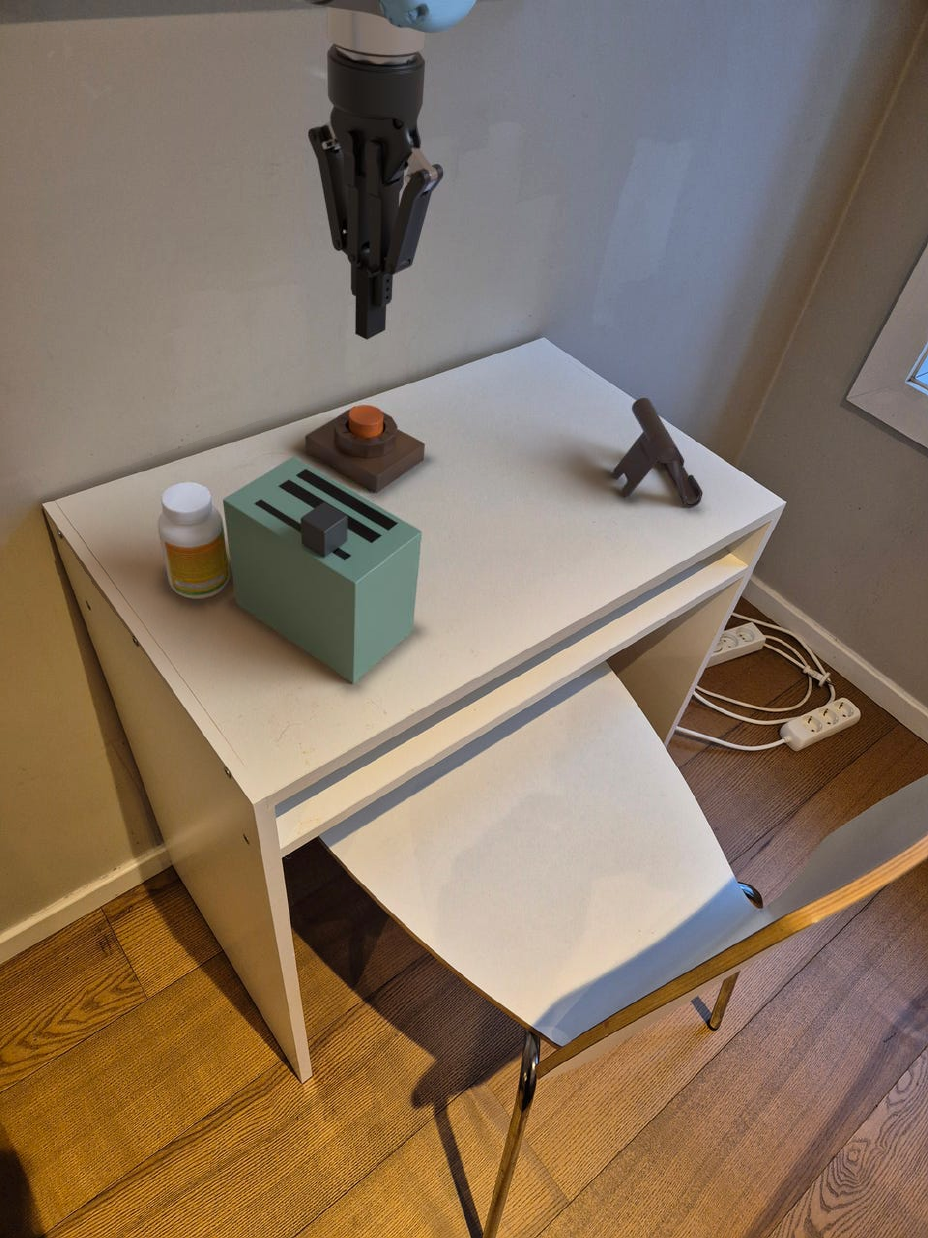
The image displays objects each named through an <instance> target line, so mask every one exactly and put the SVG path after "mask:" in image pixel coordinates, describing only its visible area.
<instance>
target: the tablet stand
mask: <svg viewBox="0 0 928 1238" xmlns="http://www.w3.org/2000/svg"><path fill="white" fill-rule="evenodd" d="M631 411H632V414H633V415H634V417H635V419H636V421H637V423H638V424H639V426H640V428H641V430H642V433H641V434H640V435H639V436H638V438H637V439H636V440H635V442H634V443H633V444H632V446H630V448H629V449H628V450H627V452H626V453H625V455H623V457H622V458H621V459H620V461H619V462H618V463H617V465H616V466H615V467H614V468H613V471H612V472H613V473H612V474H613V476H614V478H615V480H619V479H620V478H621V476H622V475H624V476H625V478H626V483H625V484H624V486H623V487H622V489H621V490H620V491H621V493H622V495H623V497H624V498H629V497H630V495H631V494H633V492H634V491H635V490H636V488H637V487H638V486H639V485H640V484H641V483H642V481H643V480H644V478H645V477H646V476H647V475H648V474H649V472H650V471H651V470H652V468H654V466H655V465H656V464H657V463H658V461H659V462H660V464H661V466H662V467H663V468H664V470H665V472H666V474H667V476H668V477H669V479H670V481H671V483H672V485H673V487H674V489H675V491H676V492H677V494H678V498H679V500H680V501H681V503H682V504H683V505H684V506H685V508H688V509H689V508H690V509H691V508H695V507H696V506H698V505H699V504H700V503H701V502H702V498H703V493H704V491H703V490H702V488H701V486H700V484H699V483H698V481H697V480H696V478H695V476H694V475H693V474H689V473H688V471H687V470H686V468H685V467H684V466H685V459H684V457H683V455H682V454H681V452H680V450H679V447H677V444H675V442H674V440H673V438H672V436H671V434H670V433H669V431H668V429H667V427H666V426H665V424H664V422H663V420H662V419H661V417H660V415H659V413H658V412H657V410H656V408H655V407H654V405H653V403H652V401H651V400H650V399H649V398H647V397H641V398H638V399H637V400H635V401H634V402H633V404H632V405H631Z"/></svg>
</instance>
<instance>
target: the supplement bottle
mask: <svg viewBox="0 0 928 1238" xmlns="http://www.w3.org/2000/svg"><path fill="white" fill-rule="evenodd" d="M160 503H161V508H162V512H161V514H160V515H159V518H158V520H157V532H158V536H159V541H160V545H161V551H162V555H163V561H164V566H165V572H166V575H167V580H168V583H169V586H170V587H171V589H172V590H173V591H174V593H176V594H178V595H180V596H182V597H185V598H189V599H194V600H195V599H205V598H206V599H207V598H210V597H212V596H215V595H217V594H219V593H220V592H222V591H223V590H224V588H226V586H227V585H228V584H229V581H230V576H231V575H230V566H229V565H230V564H229V559H228V551H227V544H226V536H225V527H224V522H223V521H224V520H223V517H222V514H221V512H220V511H219V510H218V509H217V507H215V506H214V505H213V502H212V495H211V492H210V490H209V489H208V488H207V487H206V486H204V485H203V484H200V483H196V482H192V481H191V482H190V481H186V482H178V483H174V484H172V485H170V486H169V487H167V488H165V490H164V491H163V492H162V494H161V497H160Z"/></svg>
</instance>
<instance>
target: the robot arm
mask: <svg viewBox="0 0 928 1238" xmlns="http://www.w3.org/2000/svg"><path fill="white" fill-rule="evenodd" d="M293 1H295V2H301V3H306V4H311V5H315V6H320V7H324V8H326V39H328V41H329V42H330V43H331V44H332V45H331V46H330V48H329V49H328V50H327V53H326V61H327V62H326V66H327V67H326V68H327V69H326V70H327V71H326V73H327V97H328V100H329V102H330V103H331V104H332V105H333V107H332V110H331V111H330V115H329V121H328V122H326V123H324V124H321V125H318V126H315V127H311V128H309V129H308V133H307V136H308V140H309V142H310V145H311V147H312V150H313V152H314V155H315V157H316V159H317V164H318V165H317V166H318V171H319V176H320V182H321V187H322V192H323V199H324V204H325V209H326V215H327V220H328V221H327V222H328V225H329V233H330V237H331V242H332V246H333V249H334V250H336V251H338V252H341V251H342V252H343V253H344V254H345V255H346V256H347V261H348V262H349V264H350V291H351V295H352V296H354V297H355V309H354V311H355V314H354V315H355V317H354V318H355V319H354V320H355V321H354V322H355V323H354V327H355V328H354V331H355V332H354V334H355V335H357V336H358V337H361V338H362V339H365V340H369V339H371V338H373V337H375V336H377V335H379V334H381V333H382V332H384V331H386V326H387V325H386V324H387V321H386V320H387V305H390V303H391V302H392V299H393V283H394V280H393V279H394V275H396V274H398V273H400V272H401V271H404V270H406V269H408V268H410V267H412V266H413V262H414V259H415V256H416V252H417V248H418V245H419V241H420V238H421V234H422V230H423V227H424V224H425V219H426V216H427V211H428V208H429V204H430V201H431V197H432V193H433V192H434V190H435V189H436V188H437V186H438V184H439V183H440V182H441V181H442V179H443V177H444V169H443V167H442V166H441V164H438V163H434V164H431V163H430V162H429V160H428V159H427V158H426V157H425V155H424V154H423V151H421V146H422V139H421V136H420V133H419V129H418V128H419V127H418V118H419V115H420V113H421V110H422V107H423V104H424V89H425V71H426V60H425V59H424V57H423V55H422V54H421V52H422V51H423V50H424V49H425V48H426V45H427V34H438V33H439V34H440V33H443V32H445V31H448V30H450V29H451V28H454V27H455V26H456V25H457V24H459V23H460V22H461V21H463V19H465V17H466V16H467V15H468V14H469V12H470V11H471V10H472V8H473V7H474V5H475V3H476V2H477V0H293ZM407 169H408V170H407ZM406 170H407V174H406V175H405V171H406ZM404 183H406V185H405V187H404ZM403 187H404V189H403ZM402 189H403V191H402ZM401 191H402V193H401ZM401 194H402V195H401ZM400 195H401V198H400ZM344 231H345V232H344Z"/></svg>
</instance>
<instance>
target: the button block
mask: <svg viewBox="0 0 928 1238" xmlns="http://www.w3.org/2000/svg"><path fill="white" fill-rule="evenodd" d="M356 406H357V405H355V406H353V407H351V408H350V409H349V408H348V409H347V410H345V411H344V412H342V413H340V414H339V415H337V416H336V417H334V418H333V419H331V420H329V421H328V422H326V423H324V424H322V425H321V426H319V427H317V428H316V429H314V430H312V431H311V432H310V433H307V434H306V435H305V436H304V440H305V441H304V442H305V453H306V454H308V455H309V456H311V457H313V458H315V459H316V460H317V461H319V462H321V463H323V464H325V465H326V466H328V467H330V468H331V469H333V470H335V471H337V472H338V473H340V474H342V475H344V476H345V477H347V478H349V479H351V480H352V481H354V482H355V483H357V484H359V485H361V486H363V487H364V488H366V489H368V490H370V491H371V492H373V493H375V494H377V493H379V492H380V491H382V490H383V489H384V488H386V487H387V486H389V485H390V484H392V483H393V482H394V481H396V480H397V479H399V478H400V477H402V476H403V475H404V474H406V473H408V472H409V471H410V470H411V469H413V468H414V467H416V466H417V465H419V464H420V463H422V462H423V461H424V459H425V448H426V447H425V446H426V443H424V442H422V441H420V440H419V439H417V438H415V437H413V436H411V435H410V434H408V433H406V432H404V431H402V430H400V429H399V428H398V424H397V423H396V421H395V419H394V418H393V416H392V415H390V414H388V413H386V412H384V411H382V413H383V431H382V433H381V434H380V435H379V436H376V437H370V438H365V437H359V436H356V435H354V434H352V433H351V432H350V431H349V412H350V410H351V409H352V408H354V407H356Z"/></svg>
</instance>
